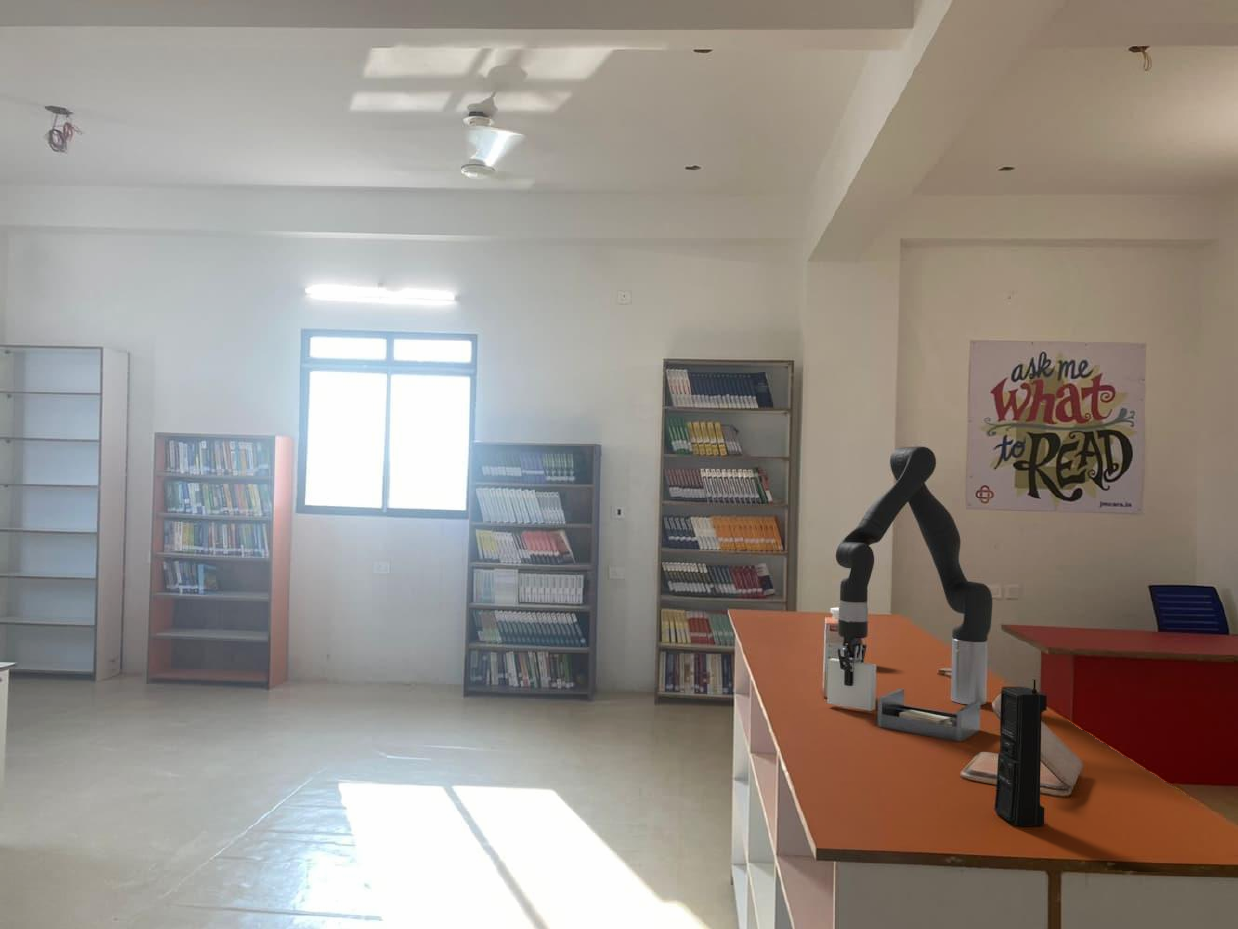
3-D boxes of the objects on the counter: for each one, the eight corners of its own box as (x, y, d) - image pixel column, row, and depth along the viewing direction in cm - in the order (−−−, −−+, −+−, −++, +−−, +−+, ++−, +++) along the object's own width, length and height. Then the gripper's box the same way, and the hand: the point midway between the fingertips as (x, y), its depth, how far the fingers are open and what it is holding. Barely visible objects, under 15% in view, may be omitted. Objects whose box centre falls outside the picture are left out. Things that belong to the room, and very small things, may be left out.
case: (1072, 801, 177) (1074, 715, 177) (956, 779, 188) (959, 699, 189) (1084, 776, 194) (1086, 698, 195) (977, 758, 205) (979, 684, 206)
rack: (899, 716, 241) (900, 688, 241) (980, 730, 229) (980, 701, 229) (877, 726, 229) (878, 697, 229) (960, 741, 217) (961, 711, 217)
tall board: (831, 701, 251) (833, 658, 251) (875, 709, 244) (876, 664, 244) (827, 703, 249) (828, 659, 249) (870, 711, 241) (871, 666, 242)
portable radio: (989, 811, 169) (992, 671, 170) (1021, 811, 169) (1024, 672, 170) (1011, 826, 161) (1014, 680, 162) (1045, 827, 162) (1048, 680, 162)
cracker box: (845, 700, 259) (847, 623, 259) (822, 698, 260) (824, 622, 260) (843, 689, 272) (845, 617, 273) (822, 688, 274) (824, 616, 274)
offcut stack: (909, 725, 233) (910, 709, 234) (953, 734, 226) (953, 717, 226) (897, 729, 229) (897, 713, 229) (941, 738, 221) (941, 721, 221)
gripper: (850, 614, 255) (848, 678, 254) (828, 619, 243) (826, 686, 243) (877, 617, 250) (875, 683, 250) (856, 622, 239) (854, 690, 238)
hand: (851, 684), depth 246 cm, fingers closed on tall board, 3 cm apart
